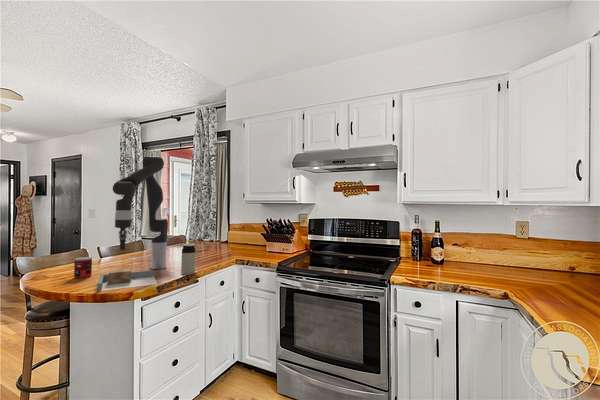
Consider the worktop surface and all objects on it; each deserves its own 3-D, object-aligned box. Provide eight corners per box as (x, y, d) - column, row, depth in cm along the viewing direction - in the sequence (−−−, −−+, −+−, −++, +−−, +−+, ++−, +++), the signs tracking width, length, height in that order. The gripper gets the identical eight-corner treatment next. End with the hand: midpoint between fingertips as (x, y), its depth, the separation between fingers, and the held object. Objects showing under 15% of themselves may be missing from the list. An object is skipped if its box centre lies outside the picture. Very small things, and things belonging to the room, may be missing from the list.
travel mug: (195, 274, 175) (196, 244, 176) (182, 275, 171) (182, 245, 172) (193, 271, 182) (194, 243, 182) (180, 272, 178) (181, 244, 178)
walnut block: (130, 280, 156) (130, 269, 156) (130, 282, 152) (131, 271, 152) (108, 282, 151) (108, 271, 151) (108, 284, 147) (108, 273, 147)
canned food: (72, 277, 163) (73, 258, 163) (89, 275, 168) (90, 256, 169) (75, 279, 157) (76, 260, 158) (92, 277, 163) (93, 258, 164)
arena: (100, 282, 153) (100, 274, 153) (153, 276, 167) (154, 269, 167) (97, 291, 136) (97, 283, 137) (157, 284, 150) (157, 277, 150)
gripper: (131, 219, 149) (130, 250, 149) (131, 218, 161) (130, 246, 161) (114, 219, 145) (113, 251, 145) (115, 218, 157) (114, 247, 157)
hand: (122, 248), depth 153 cm, fingers open, 8 cm apart
